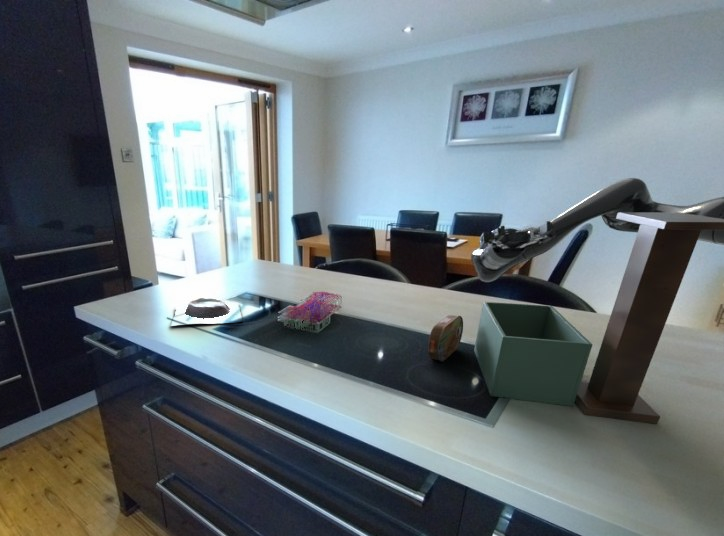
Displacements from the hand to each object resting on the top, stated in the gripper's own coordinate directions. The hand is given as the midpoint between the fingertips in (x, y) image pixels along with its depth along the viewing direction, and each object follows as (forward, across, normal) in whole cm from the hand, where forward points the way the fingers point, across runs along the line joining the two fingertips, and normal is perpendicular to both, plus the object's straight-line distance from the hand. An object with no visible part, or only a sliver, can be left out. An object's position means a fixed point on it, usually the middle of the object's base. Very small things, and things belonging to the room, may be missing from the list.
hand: (525, 227), depth 83 cm
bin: (+2, -4, +31) cm, 31 cm away
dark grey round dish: (-16, -82, +13) cm, 85 cm away
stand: (+10, +8, +36) cm, 38 cm away
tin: (-4, -17, +27) cm, 32 cm away
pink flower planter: (-23, -50, +14) cm, 57 cm away
